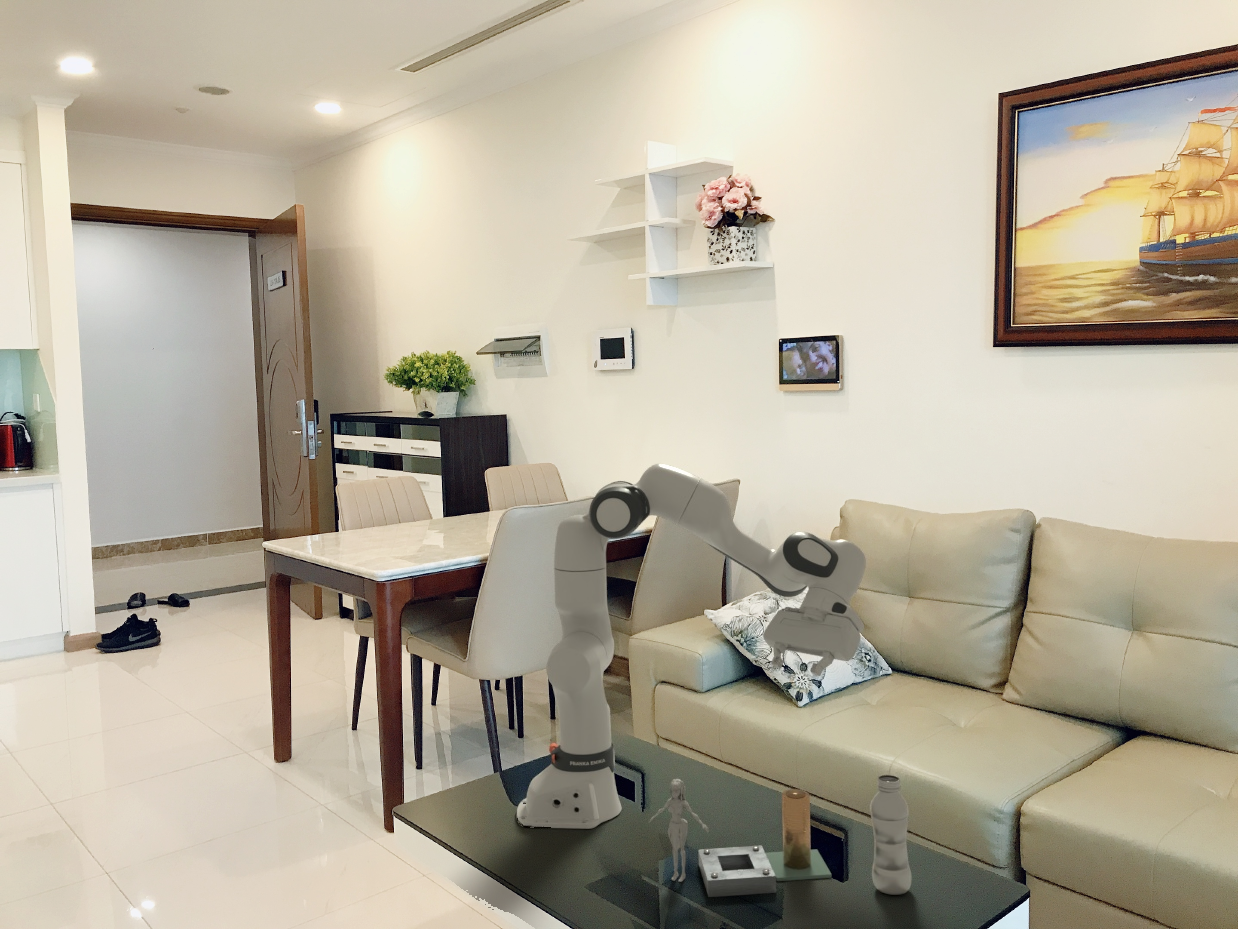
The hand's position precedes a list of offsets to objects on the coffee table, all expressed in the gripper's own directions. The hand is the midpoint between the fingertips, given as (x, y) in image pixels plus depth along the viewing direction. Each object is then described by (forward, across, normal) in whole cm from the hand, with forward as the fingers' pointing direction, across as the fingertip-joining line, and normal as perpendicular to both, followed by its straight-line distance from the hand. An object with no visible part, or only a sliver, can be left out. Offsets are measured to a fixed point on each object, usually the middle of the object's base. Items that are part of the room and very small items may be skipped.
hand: (794, 670), depth 190 cm
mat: (+31, +7, +16) cm, 36 cm away
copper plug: (+31, +7, +16) cm, 35 cm away
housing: (+39, +2, +8) cm, 40 cm away
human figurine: (+44, -6, +4) cm, 44 cm away
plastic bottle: (+29, +25, +19) cm, 42 cm away
